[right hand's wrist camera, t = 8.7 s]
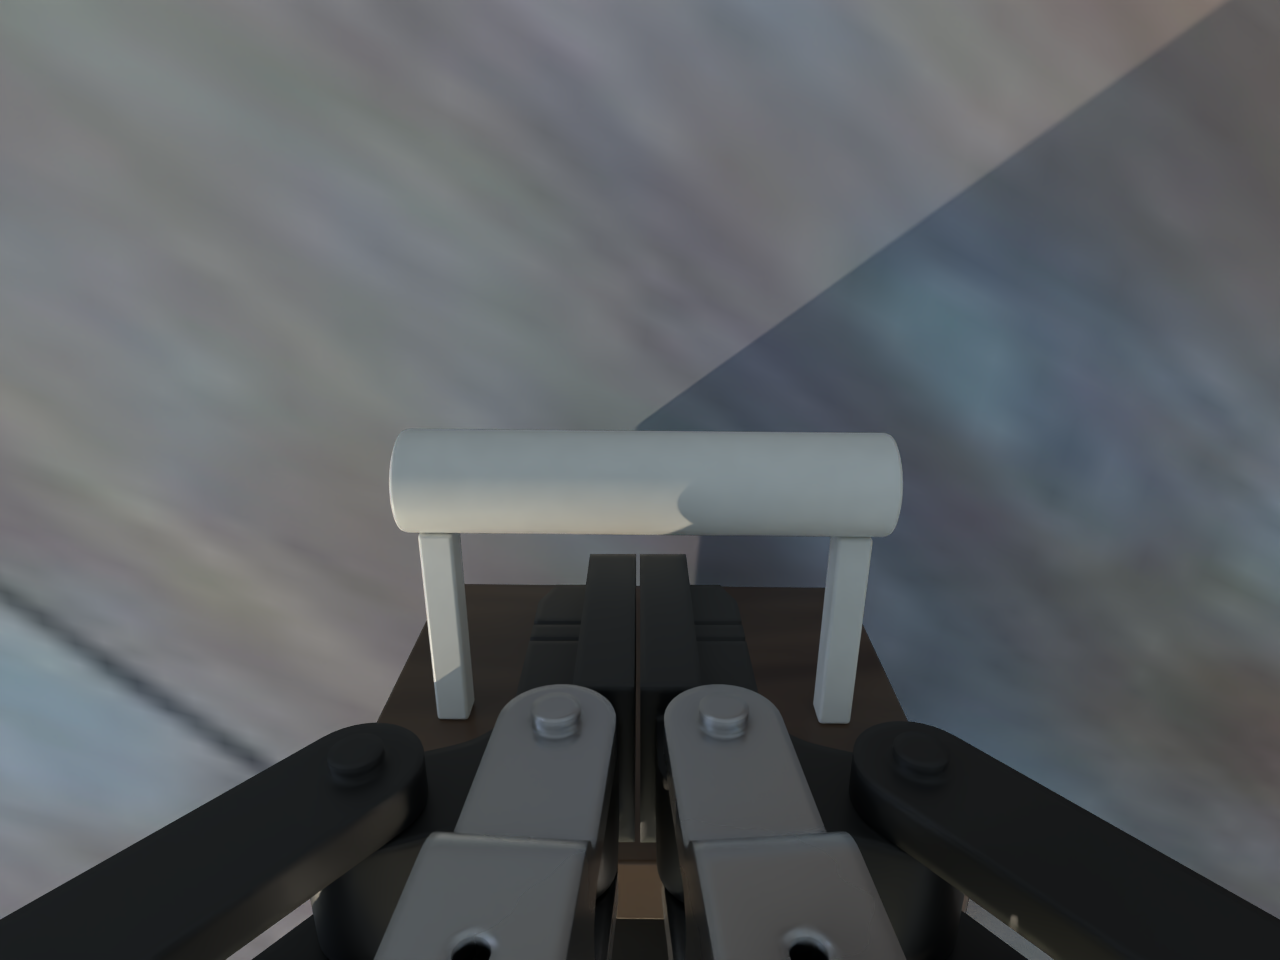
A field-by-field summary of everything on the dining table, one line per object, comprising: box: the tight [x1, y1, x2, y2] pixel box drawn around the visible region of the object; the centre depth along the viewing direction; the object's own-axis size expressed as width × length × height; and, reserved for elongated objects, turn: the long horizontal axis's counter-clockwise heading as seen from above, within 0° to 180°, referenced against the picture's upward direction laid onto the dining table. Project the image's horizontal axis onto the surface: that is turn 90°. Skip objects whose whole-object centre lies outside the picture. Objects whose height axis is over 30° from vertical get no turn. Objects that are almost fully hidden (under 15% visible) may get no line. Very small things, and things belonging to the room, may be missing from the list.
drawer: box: [377, 429, 969, 960], centre depth 17 cm, size 21×10×8 cm, turn 0°
